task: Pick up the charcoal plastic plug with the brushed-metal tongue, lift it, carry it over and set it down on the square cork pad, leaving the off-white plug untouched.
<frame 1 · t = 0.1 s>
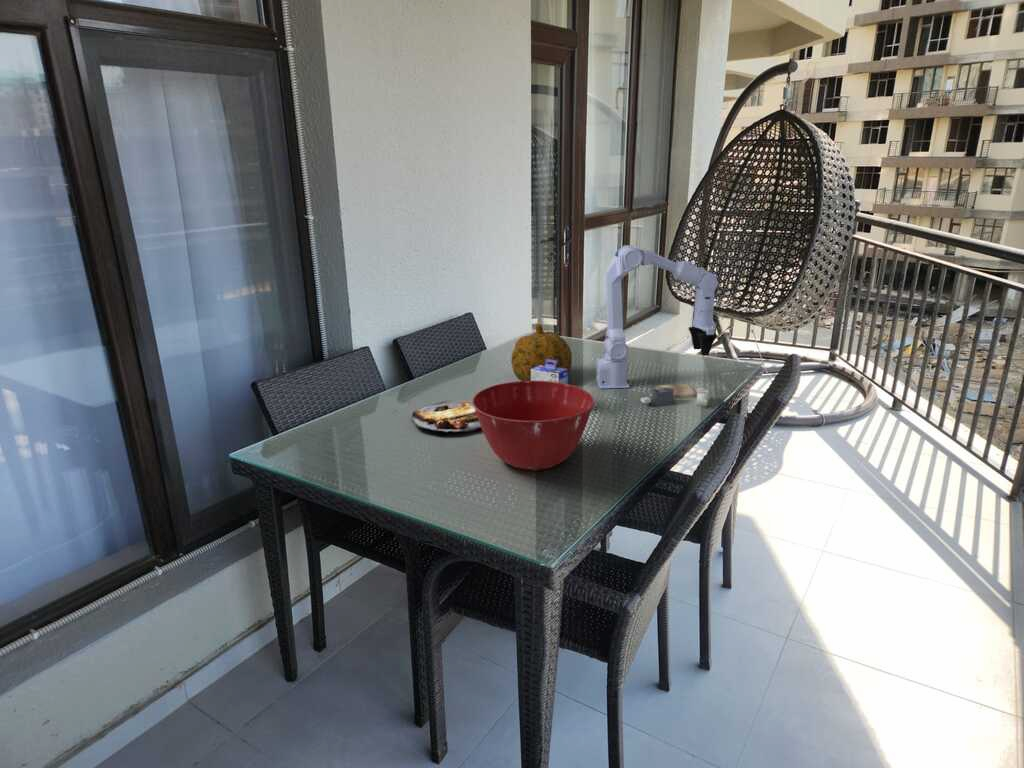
hand: (701, 352, 205), 10 cm above the table, fingers open, 7 cm apart
cork pad: (675, 392, 198), on the table
decorative pumpkin: (541, 381, 215), on the table
charcoal plug: (660, 403, 190), on the table
offwhite plug: (702, 402, 189), on the table
food plate: (456, 422, 181), on the table
mixing bowl: (534, 459, 154), on the table
ink cartridge box: (549, 409, 188), on the table
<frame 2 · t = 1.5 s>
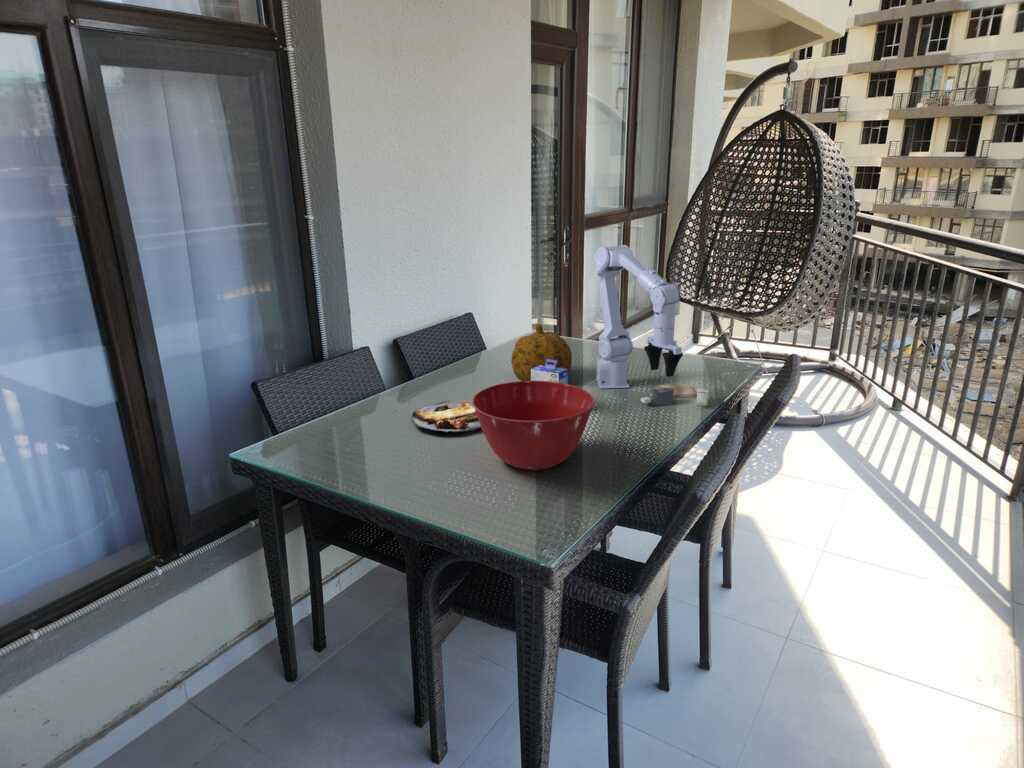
hand: (662, 372, 187), 9 cm above the table, fingers open, 7 cm apart
nothing on the table moved.
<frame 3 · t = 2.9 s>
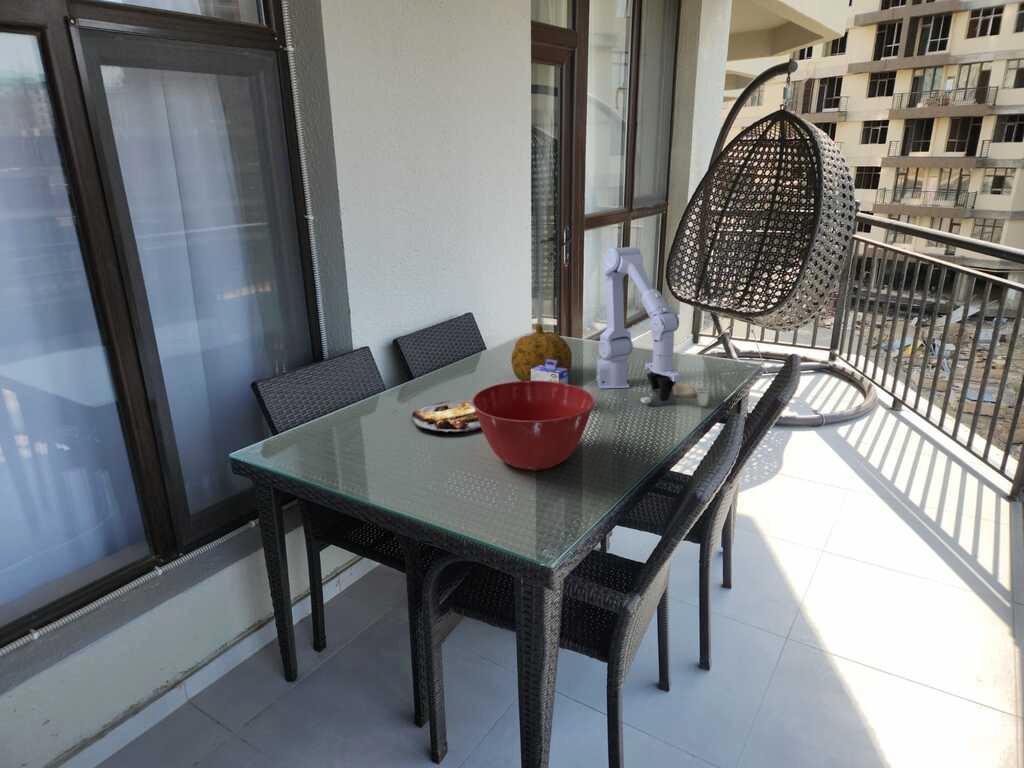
hand: (660, 398, 189), 1 cm above the table, fingers closed on charcoal plug, 3 cm apart
charcoal plug: (660, 403, 190), on the table, touching gripper
everything else where it was.
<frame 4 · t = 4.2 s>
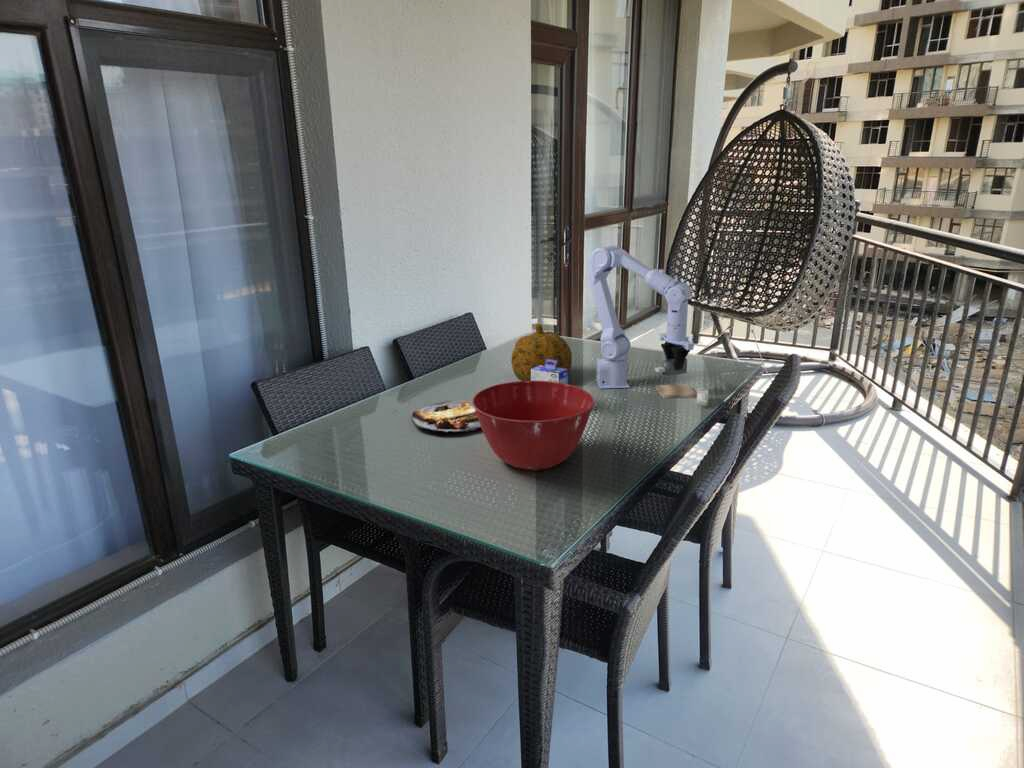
hand: (674, 368, 195), 8 cm above the table, fingers closed on charcoal plug, 3 cm apart
charcoal plug: (674, 373, 195), point 7 cm above the table, touching gripper
everything else where it was.
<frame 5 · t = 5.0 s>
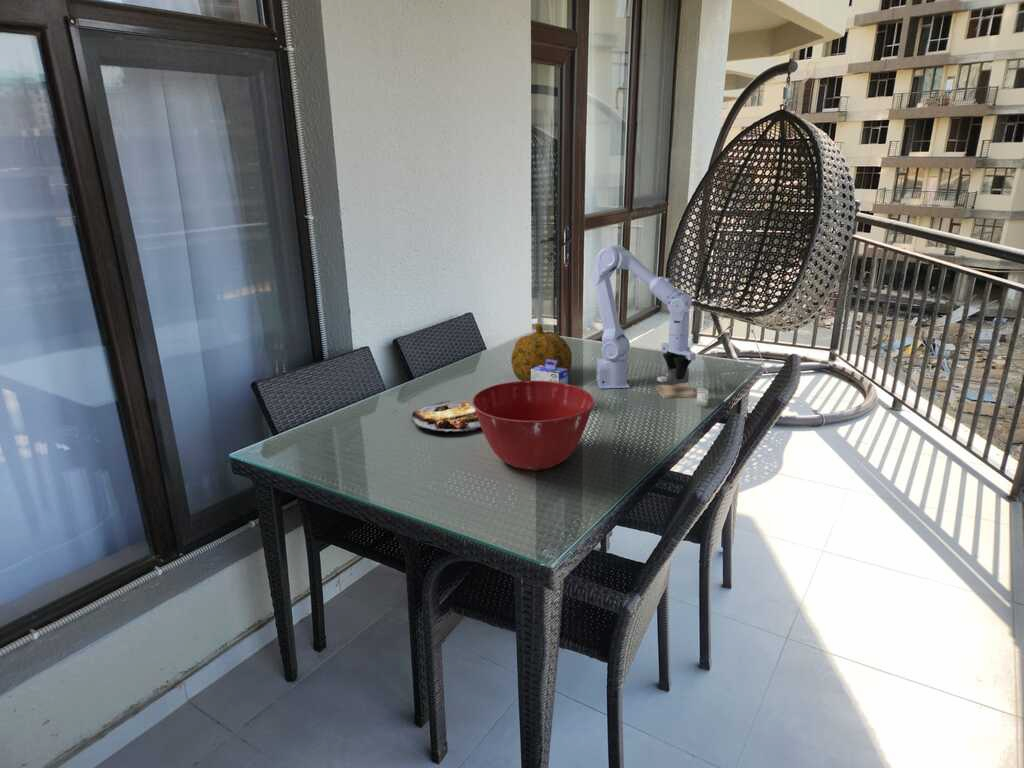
hand: (676, 377, 197), 5 cm above the table, fingers closed on charcoal plug, 3 cm apart
charcoal plug: (676, 382, 197), point 3 cm above the table, touching gripper
everything else where it was.
when the fingers open (3 cm above the table, at t = 5.7 s): charcoal plug stays where it is, resting on cork pad.
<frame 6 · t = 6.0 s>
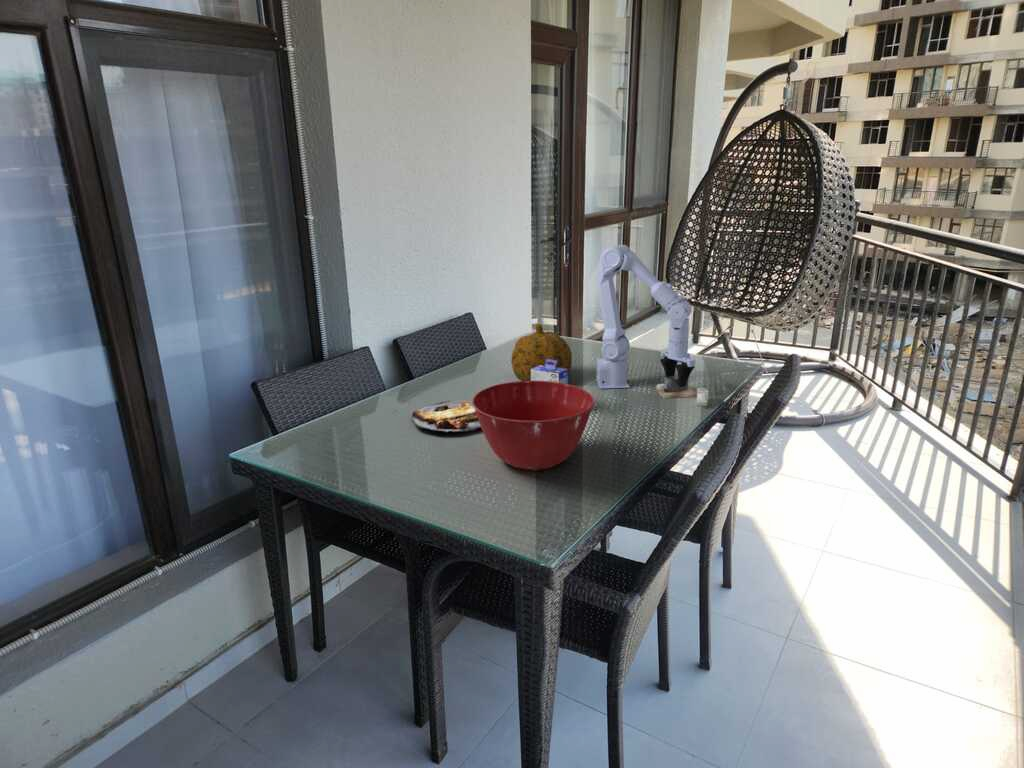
hand: (676, 383, 198), 3 cm above the table, fingers open, 6 cm apart
charcoal plug: (675, 389, 198), point 1 cm above the table, touching cork pad
everything else where it was.
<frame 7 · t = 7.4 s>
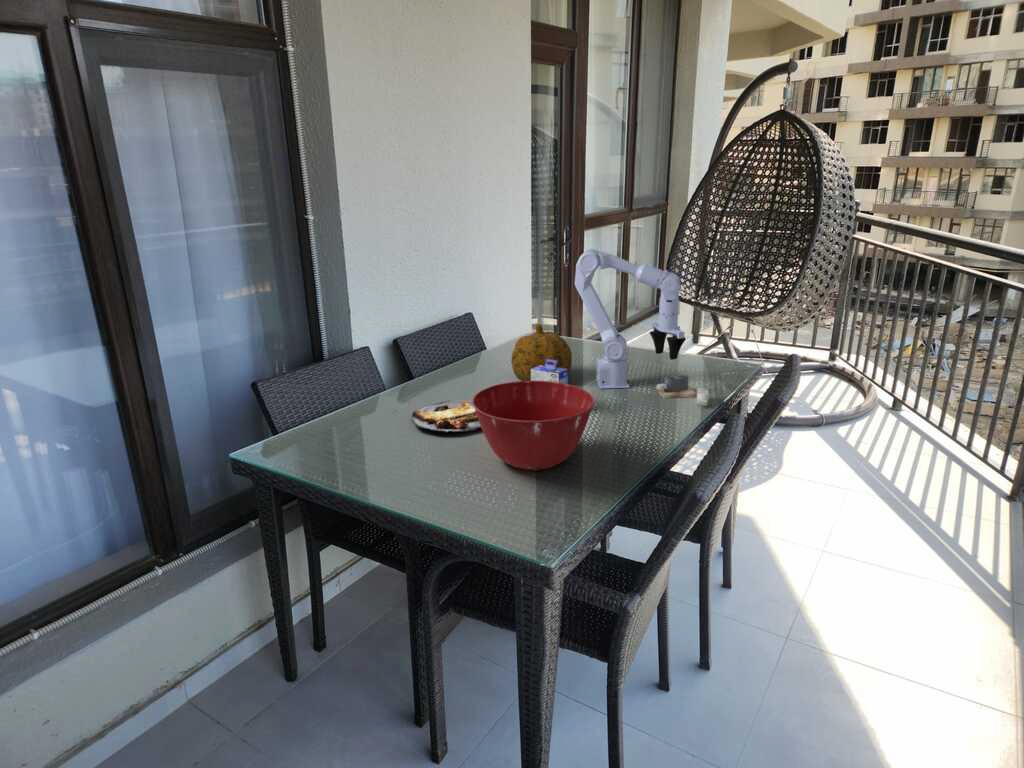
hand: (666, 356, 201), 10 cm above the table, fingers open, 7 cm apart
nothing on the table moved.
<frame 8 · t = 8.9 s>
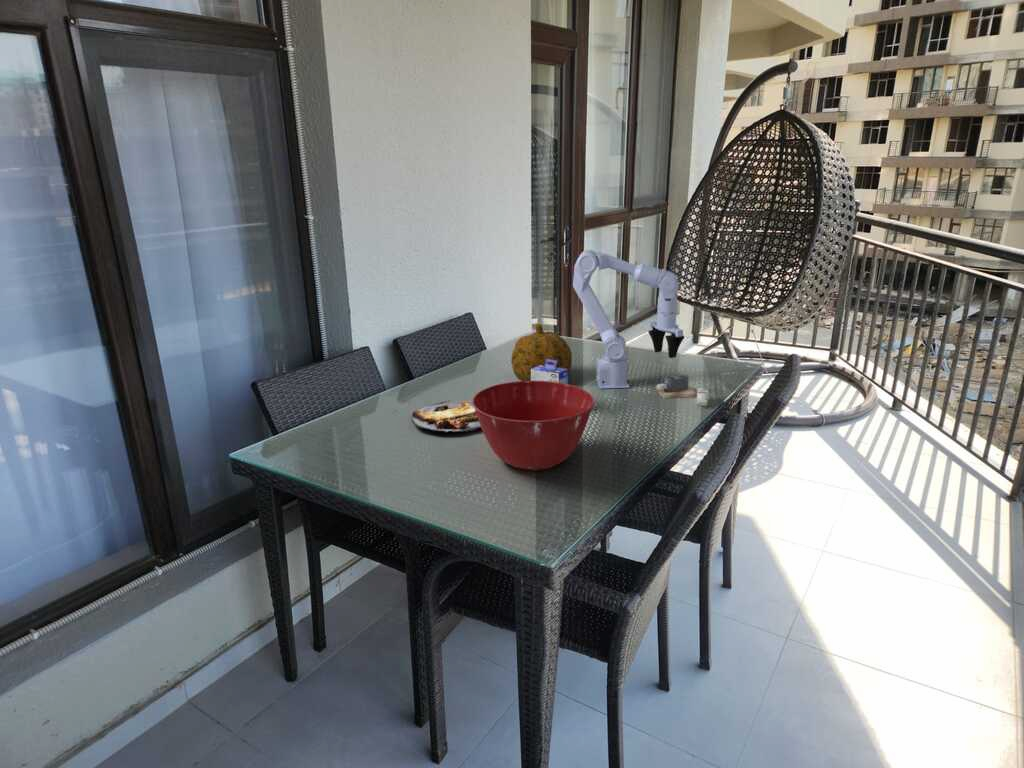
hand: (665, 354, 202), 10 cm above the table, fingers open, 7 cm apart
nothing on the table moved.
at the end: charcoal plug inside the target area on the cork pad (0.0 cm from its centre), point 1.0 cm above the cork pad's base; charcoal plug tilted 0°; the gripper is holding nothing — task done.
